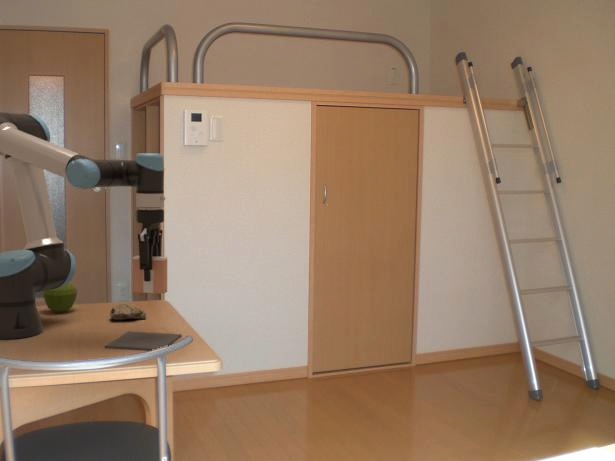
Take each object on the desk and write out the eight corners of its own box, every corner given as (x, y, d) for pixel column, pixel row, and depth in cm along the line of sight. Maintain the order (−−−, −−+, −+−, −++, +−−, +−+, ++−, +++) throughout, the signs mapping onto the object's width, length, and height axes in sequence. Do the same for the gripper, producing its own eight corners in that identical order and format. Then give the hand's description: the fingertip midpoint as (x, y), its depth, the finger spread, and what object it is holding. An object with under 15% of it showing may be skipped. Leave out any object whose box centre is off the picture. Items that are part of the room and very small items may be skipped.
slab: (132, 292, 196) (132, 257, 195) (137, 290, 199) (136, 255, 198) (163, 293, 195) (163, 258, 194) (167, 291, 198) (167, 256, 197)
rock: (146, 322, 217) (146, 308, 217) (109, 323, 215) (109, 309, 214) (145, 315, 228) (145, 302, 227) (110, 316, 225) (110, 303, 224)
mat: (104, 347, 186) (104, 345, 186) (128, 333, 202) (128, 331, 202) (162, 351, 184) (162, 349, 184) (181, 336, 200) (181, 334, 200)
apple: (67, 316, 223) (66, 285, 222) (36, 314, 225) (36, 284, 224) (83, 309, 234) (82, 279, 233) (54, 307, 235) (53, 278, 234)
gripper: (152, 210, 186) (153, 297, 188) (172, 207, 202) (173, 286, 204) (126, 210, 187) (127, 296, 189) (147, 206, 203) (148, 285, 205)
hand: (150, 291), depth 197 cm, fingers closed on slab, 3 cm apart
